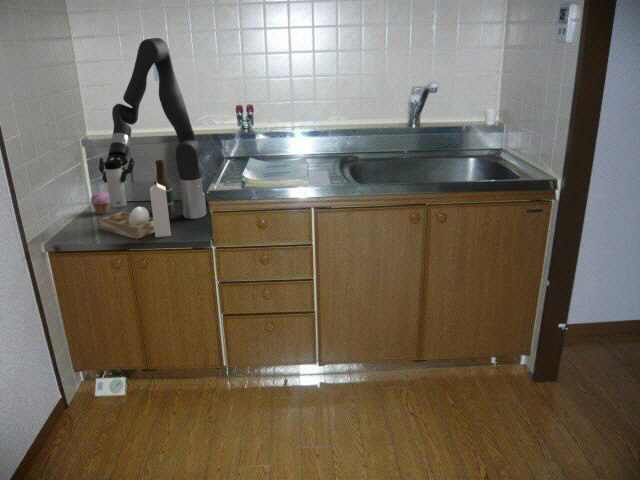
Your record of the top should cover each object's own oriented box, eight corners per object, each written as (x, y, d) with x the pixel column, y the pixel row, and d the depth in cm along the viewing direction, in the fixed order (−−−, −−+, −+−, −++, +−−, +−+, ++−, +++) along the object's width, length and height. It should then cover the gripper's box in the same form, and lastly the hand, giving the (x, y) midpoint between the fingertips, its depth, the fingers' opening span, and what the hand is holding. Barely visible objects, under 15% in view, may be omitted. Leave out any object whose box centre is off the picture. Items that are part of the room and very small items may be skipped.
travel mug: (122, 209, 222) (115, 161, 215) (107, 209, 223) (100, 160, 216) (130, 205, 228) (124, 158, 221) (115, 204, 229) (109, 157, 222)
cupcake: (95, 210, 251) (91, 189, 247) (114, 209, 252) (111, 188, 249) (91, 216, 243) (87, 195, 239) (111, 215, 244) (108, 193, 241)
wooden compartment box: (124, 221, 236) (123, 211, 235) (160, 229, 225) (158, 219, 224) (101, 229, 227) (99, 219, 225) (137, 238, 216) (135, 228, 214)
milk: (155, 237, 217) (148, 183, 209) (155, 232, 222) (148, 180, 214) (171, 235, 218) (164, 182, 211) (170, 231, 224) (164, 178, 216)
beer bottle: (178, 211, 248) (172, 159, 240) (165, 216, 242) (158, 163, 234) (166, 208, 252) (160, 157, 244) (153, 213, 246) (146, 161, 238)
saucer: (148, 225, 226) (145, 203, 223) (150, 226, 226) (147, 204, 222) (129, 232, 219) (126, 209, 215) (132, 233, 218) (128, 210, 215)
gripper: (99, 141, 223) (92, 176, 216) (134, 141, 223) (128, 176, 216) (105, 151, 230) (99, 186, 223) (139, 151, 230) (134, 186, 223)
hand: (113, 181), depth 220 cm, fingers closed on travel mug, 6 cm apart
